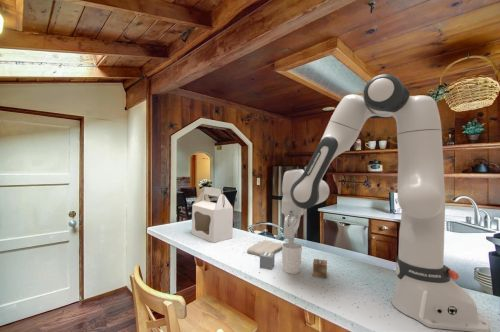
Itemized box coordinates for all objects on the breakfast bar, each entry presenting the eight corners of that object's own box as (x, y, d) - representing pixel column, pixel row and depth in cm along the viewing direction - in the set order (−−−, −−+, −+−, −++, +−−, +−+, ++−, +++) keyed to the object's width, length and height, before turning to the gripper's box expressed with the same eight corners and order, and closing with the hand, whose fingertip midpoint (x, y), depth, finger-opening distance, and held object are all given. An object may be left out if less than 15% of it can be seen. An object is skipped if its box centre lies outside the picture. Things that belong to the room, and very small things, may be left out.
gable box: (232, 238, 138) (233, 188, 137) (213, 243, 128) (214, 190, 128) (209, 230, 154) (210, 185, 153) (191, 234, 144) (192, 186, 144)
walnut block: (326, 273, 96) (326, 259, 96) (326, 278, 92) (326, 264, 92) (313, 271, 98) (313, 258, 98) (312, 276, 93) (313, 262, 93)
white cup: (301, 275, 94) (302, 249, 93) (280, 273, 95) (281, 247, 95) (301, 267, 101) (301, 243, 101) (282, 265, 103) (282, 241, 103)
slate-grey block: (274, 265, 103) (274, 252, 103) (271, 270, 98) (271, 257, 98) (262, 263, 104) (263, 251, 104) (259, 268, 100) (259, 255, 100)
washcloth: (285, 248, 124) (285, 242, 124) (268, 260, 109) (269, 253, 109) (264, 244, 131) (264, 238, 131) (246, 254, 115) (246, 247, 115)
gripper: (297, 215, 87) (296, 253, 87) (303, 205, 107) (301, 237, 107) (279, 213, 89) (278, 251, 89) (288, 204, 108) (287, 235, 109)
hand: (291, 243), depth 98 cm, fingers closed
